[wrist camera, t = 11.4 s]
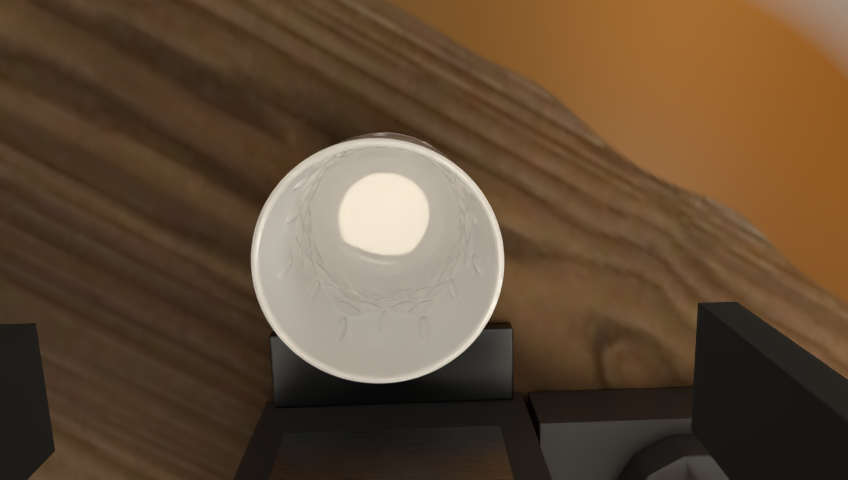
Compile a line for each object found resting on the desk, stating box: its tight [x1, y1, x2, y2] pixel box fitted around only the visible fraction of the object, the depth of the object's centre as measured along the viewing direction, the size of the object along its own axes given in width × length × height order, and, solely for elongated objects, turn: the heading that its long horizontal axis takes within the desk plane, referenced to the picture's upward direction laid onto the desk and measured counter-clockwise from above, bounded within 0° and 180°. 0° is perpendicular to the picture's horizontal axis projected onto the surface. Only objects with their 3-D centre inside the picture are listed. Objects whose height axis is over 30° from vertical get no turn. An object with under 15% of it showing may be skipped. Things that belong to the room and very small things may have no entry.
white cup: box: [251, 132, 504, 383], centre depth 28 cm, size 8×8×10 cm
